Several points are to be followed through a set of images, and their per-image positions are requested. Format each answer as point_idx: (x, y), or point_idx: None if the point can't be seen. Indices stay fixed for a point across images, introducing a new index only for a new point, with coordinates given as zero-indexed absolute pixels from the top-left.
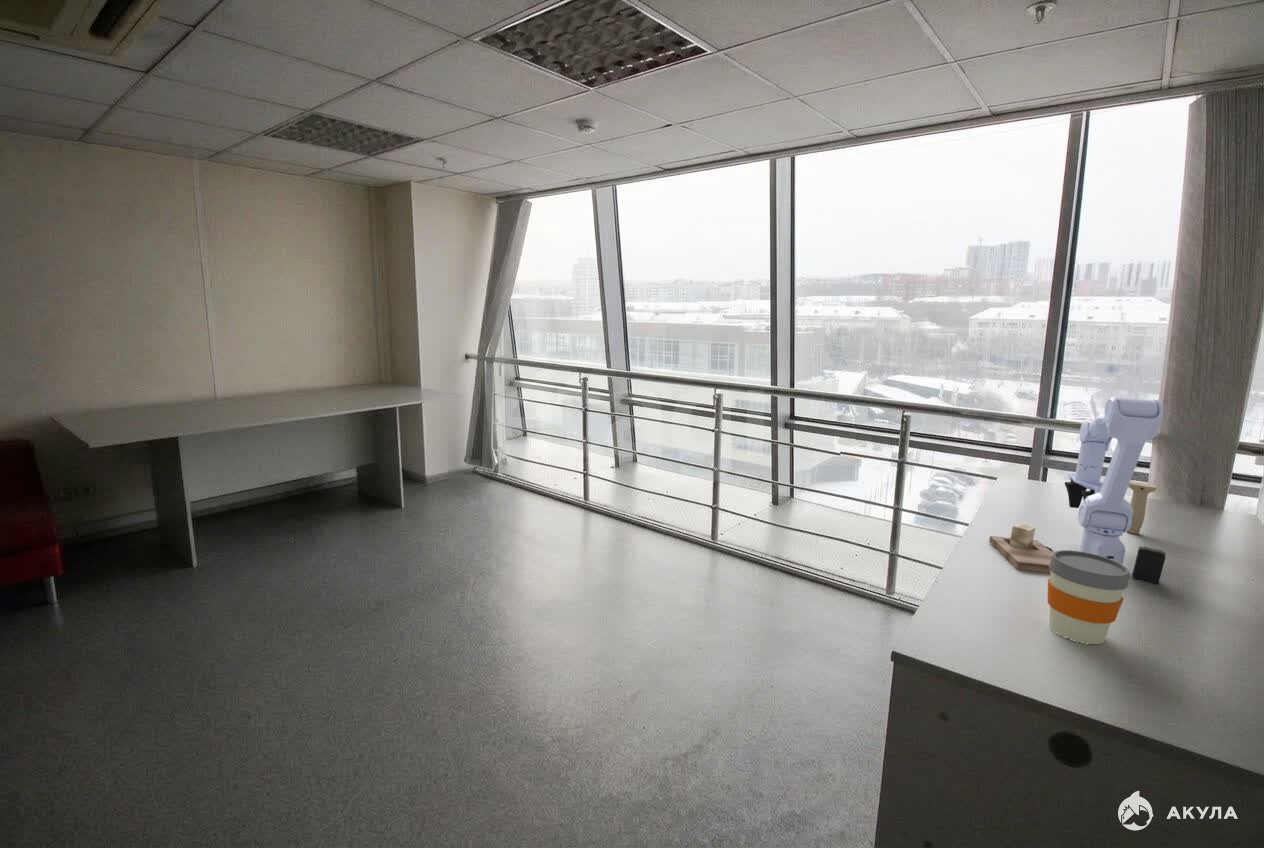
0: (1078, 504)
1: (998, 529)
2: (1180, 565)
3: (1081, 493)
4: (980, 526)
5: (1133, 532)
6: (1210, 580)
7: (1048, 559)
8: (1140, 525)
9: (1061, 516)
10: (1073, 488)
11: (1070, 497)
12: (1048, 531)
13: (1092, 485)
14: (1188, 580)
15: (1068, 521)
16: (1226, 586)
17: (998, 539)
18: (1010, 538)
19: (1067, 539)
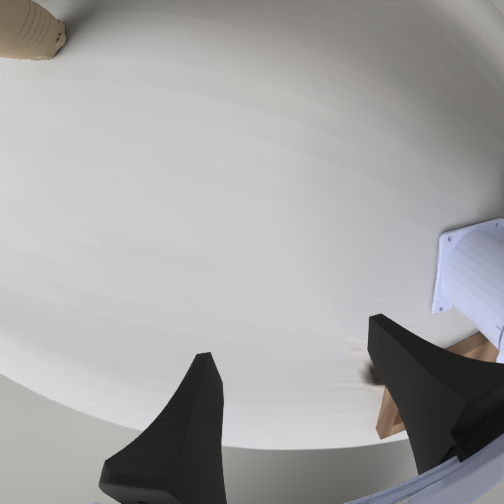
0: (208, 371)
1: (273, 427)
2: (390, 5)
3: (195, 434)
4: (268, 446)
5: (65, 37)
6: (462, 14)
7: (482, 360)
8: (50, 13)
9: (3, 251)
10: (217, 491)
11: (219, 437)
12: (211, 336)
13: (489, 489)
14: (488, 72)
15: (35, 241)
16: (476, 9)
17: (398, 428)
18: (389, 419)
19: (280, 297)
